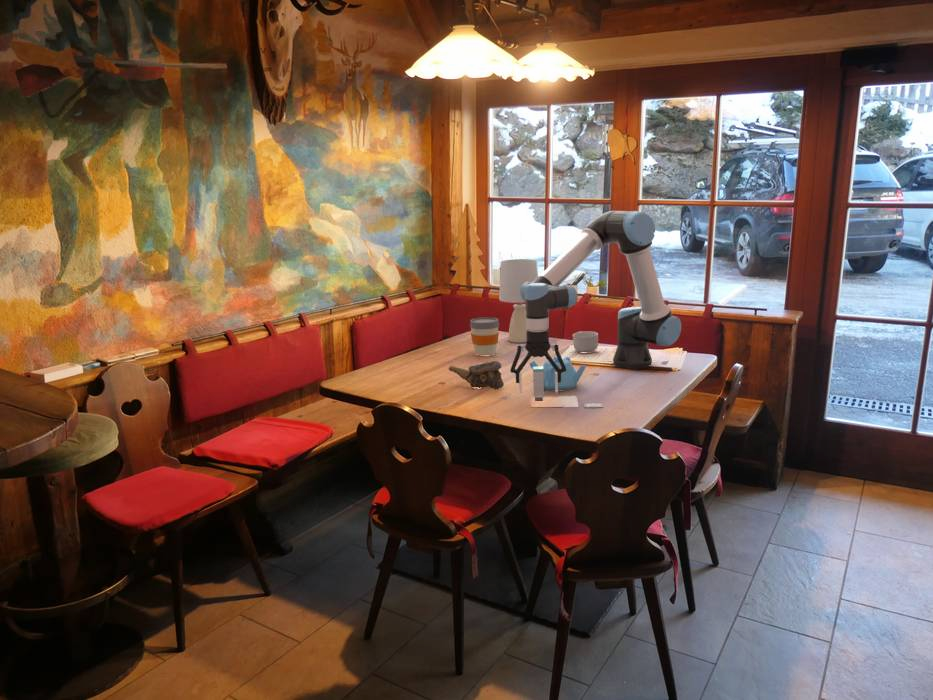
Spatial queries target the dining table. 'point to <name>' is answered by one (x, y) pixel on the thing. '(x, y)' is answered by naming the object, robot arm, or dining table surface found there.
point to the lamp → (516, 293)
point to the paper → (569, 401)
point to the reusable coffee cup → (484, 335)
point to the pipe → (481, 375)
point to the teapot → (567, 377)
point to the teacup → (585, 341)
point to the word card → (593, 405)
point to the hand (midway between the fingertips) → (538, 391)
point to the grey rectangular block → (538, 383)
